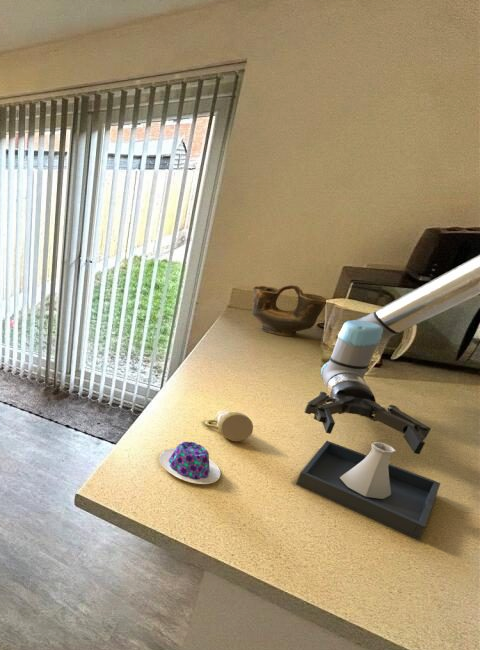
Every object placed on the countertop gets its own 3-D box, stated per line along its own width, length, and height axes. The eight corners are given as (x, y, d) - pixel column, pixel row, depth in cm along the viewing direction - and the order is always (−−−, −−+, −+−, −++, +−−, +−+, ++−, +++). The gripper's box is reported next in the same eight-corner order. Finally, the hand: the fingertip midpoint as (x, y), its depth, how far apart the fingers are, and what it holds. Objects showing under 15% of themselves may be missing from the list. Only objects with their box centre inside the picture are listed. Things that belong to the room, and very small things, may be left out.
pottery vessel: (238, 327, 168) (250, 281, 160) (248, 321, 174) (260, 277, 167) (311, 343, 150) (329, 293, 142) (319, 337, 156) (336, 288, 148)
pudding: (169, 484, 83) (173, 464, 81) (152, 449, 94) (156, 430, 91) (230, 489, 81) (236, 469, 79) (205, 452, 92) (211, 434, 90)
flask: (331, 475, 83) (348, 437, 79) (363, 473, 83) (381, 434, 79) (365, 501, 76) (385, 460, 72) (399, 498, 77) (422, 457, 73)
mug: (233, 421, 104) (257, 403, 96) (233, 453, 98) (259, 437, 90) (204, 411, 105) (225, 392, 97) (203, 442, 100) (226, 425, 92)
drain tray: (433, 495, 78) (440, 482, 77) (417, 540, 69) (425, 526, 67) (321, 452, 91) (326, 440, 90) (295, 484, 82) (300, 472, 81)
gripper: (414, 420, 93) (452, 472, 77) (283, 394, 105) (292, 434, 89) (428, 393, 90) (470, 441, 74) (292, 369, 102) (302, 406, 86)
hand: (373, 437), depth 81 cm, fingers open, 13 cm apart
